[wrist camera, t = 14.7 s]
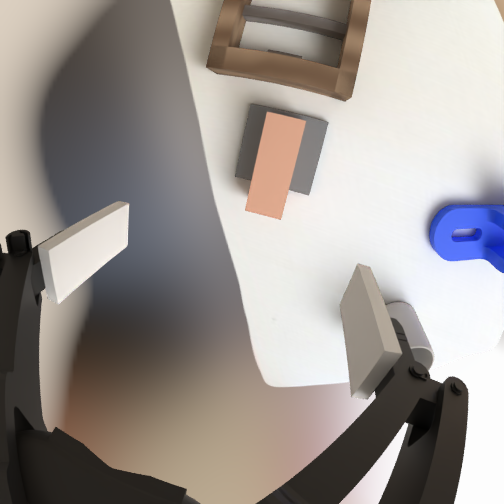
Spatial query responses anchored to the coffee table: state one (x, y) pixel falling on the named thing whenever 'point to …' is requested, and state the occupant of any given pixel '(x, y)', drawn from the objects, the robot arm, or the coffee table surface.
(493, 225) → the bracket
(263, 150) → the terracotta block
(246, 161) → the rubber pad
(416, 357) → the mug
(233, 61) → the brown wooden frame
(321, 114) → the coffee table surface
